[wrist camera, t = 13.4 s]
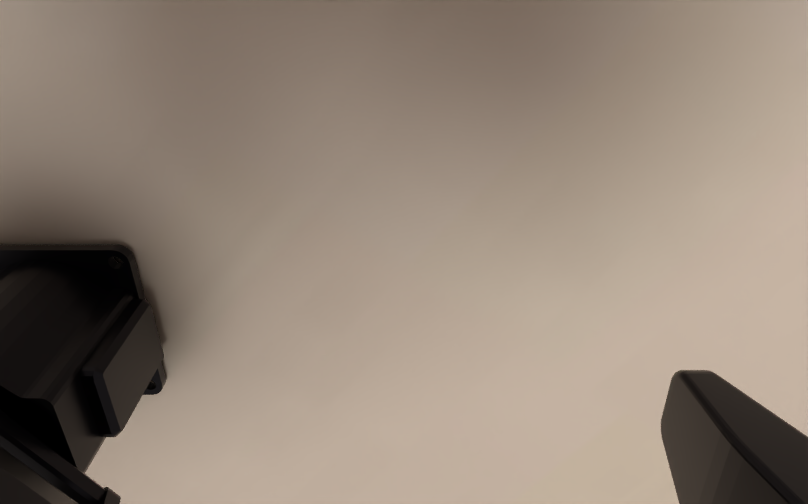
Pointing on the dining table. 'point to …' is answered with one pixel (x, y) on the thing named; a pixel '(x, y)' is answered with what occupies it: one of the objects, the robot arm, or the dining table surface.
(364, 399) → the dining table surface
